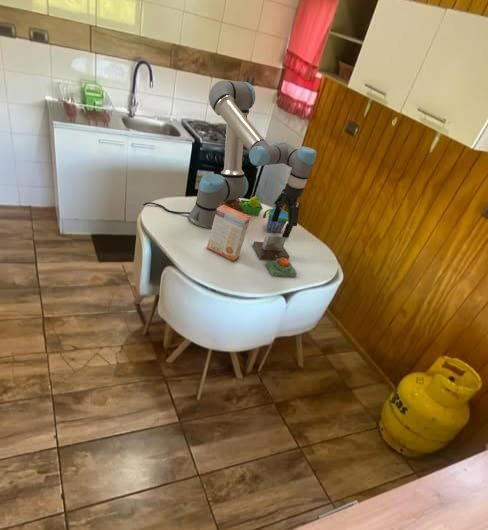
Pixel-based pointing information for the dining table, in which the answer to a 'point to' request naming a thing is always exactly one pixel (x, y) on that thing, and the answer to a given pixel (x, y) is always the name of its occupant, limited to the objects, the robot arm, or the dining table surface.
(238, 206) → the bread
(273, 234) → the tap lever
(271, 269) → the button housing
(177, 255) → the dining table surface
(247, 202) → the fruit basket
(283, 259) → the button
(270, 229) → the snack cup
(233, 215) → the cracker box
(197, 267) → the dining table surface
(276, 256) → the brown flat block
